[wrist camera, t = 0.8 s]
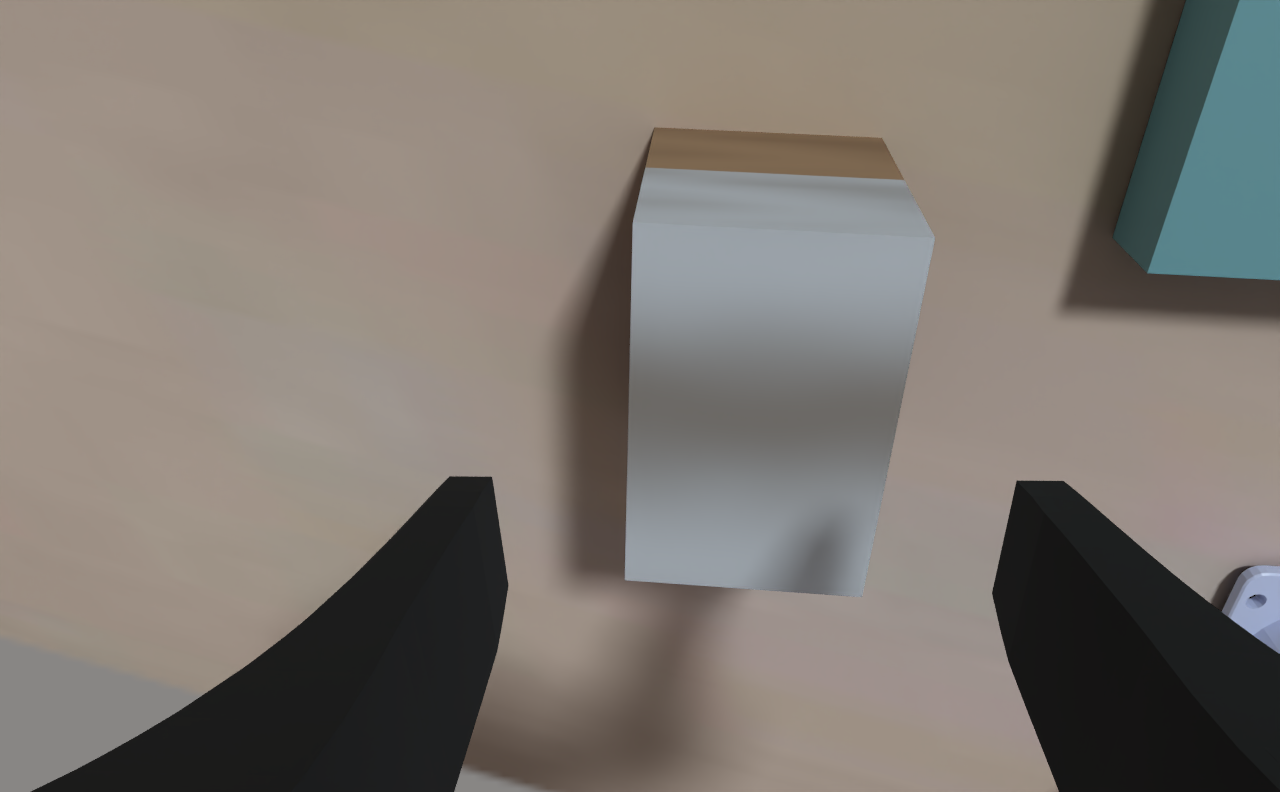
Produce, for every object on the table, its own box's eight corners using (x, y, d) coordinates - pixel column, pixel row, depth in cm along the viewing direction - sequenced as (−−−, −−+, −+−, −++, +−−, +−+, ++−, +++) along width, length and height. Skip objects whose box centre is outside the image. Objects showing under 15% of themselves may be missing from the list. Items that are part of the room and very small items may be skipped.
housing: (832, 438, 24) (861, 597, 19) (644, 426, 25) (624, 580, 20) (881, 136, 20) (935, 237, 15) (654, 126, 21) (632, 222, 15)
